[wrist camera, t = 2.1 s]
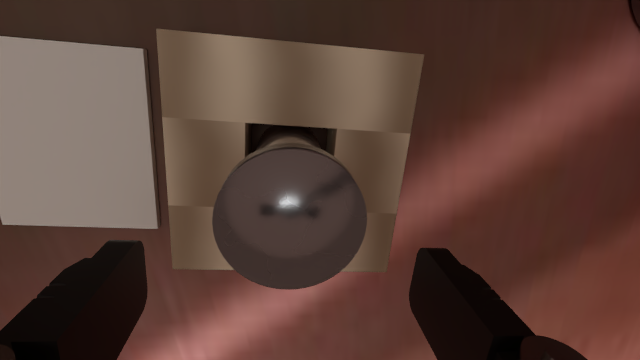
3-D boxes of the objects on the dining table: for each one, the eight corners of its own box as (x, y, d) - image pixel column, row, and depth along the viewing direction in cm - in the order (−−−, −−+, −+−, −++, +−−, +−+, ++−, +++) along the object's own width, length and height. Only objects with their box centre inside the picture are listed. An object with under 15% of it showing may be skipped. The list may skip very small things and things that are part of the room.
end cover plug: (335, 112, 23) (376, 155, 12) (326, 193, 25) (357, 289, 14) (245, 105, 22) (210, 145, 12) (244, 190, 24) (213, 288, 14)
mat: (146, 49, 21) (143, 48, 20) (160, 225, 24) (157, 228, 24) (-36, 33, 19) (-46, 32, 19) (9, 220, 23) (2, 224, 23)
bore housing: (400, 55, 22) (424, 54, 18) (372, 242, 27) (386, 272, 23) (179, 34, 20) (156, 28, 17) (189, 238, 25) (172, 268, 21)
